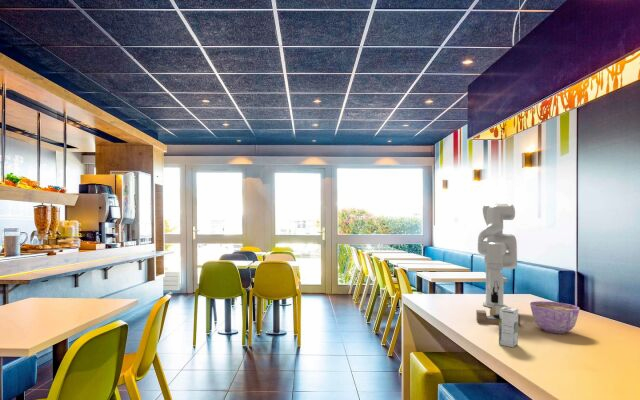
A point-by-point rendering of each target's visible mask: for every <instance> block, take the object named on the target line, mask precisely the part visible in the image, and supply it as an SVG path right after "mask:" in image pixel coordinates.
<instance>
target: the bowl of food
mask: <svg viewBox="0 0 640 400" xmlns="http://www.w3.org/2000/svg"><path fill="white" fill-rule="evenodd" d="M529 305H530V309H531V313H532V317H533V321H534V322H535V324H536V325H537V326H538V327H539V328H540V329H543V330H544V331H545V332H548V333H551V334H565V333H566V332H569V331H572V329H574V327H575V326H576V323H577V321H578V317H579V313H580V307H579V306H577V305H574V304H569V303H564V302H555V301H544V300H542V301H541V300H540V301H539V300H538V301H531V302H530V303H529Z"/></svg>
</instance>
